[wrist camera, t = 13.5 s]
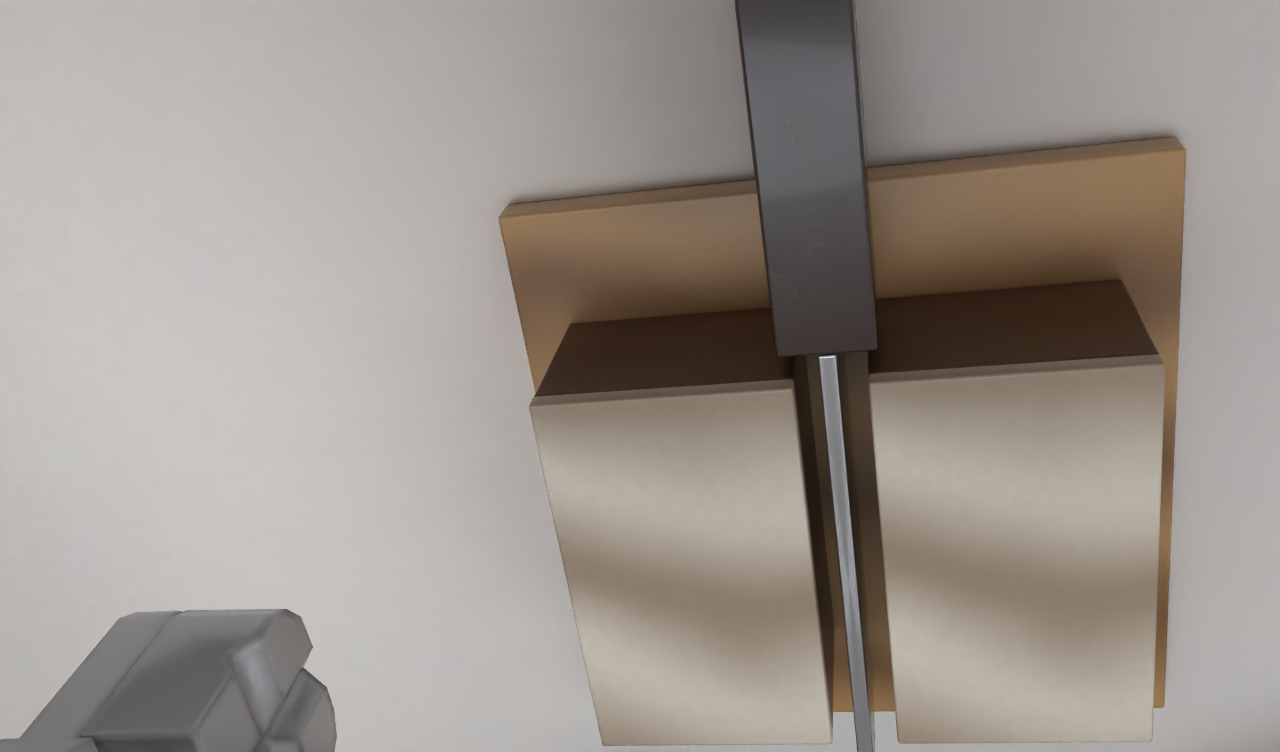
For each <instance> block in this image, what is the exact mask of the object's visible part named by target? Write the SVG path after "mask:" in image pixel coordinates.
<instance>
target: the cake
mask: <svg viewBox="0 0 1280 752" xmlns="http://www.w3.org/2000/svg"><path fill="white" fill-rule="evenodd" d="M1185 167H1186V149H1185V148H1184V146H1183V145H1182V144H1181V143H1180V142H1179V140H1178V139H1177V138H1175V137H1168V138H1158V139H1149V140H1139V141H1129V142H1119V143H1109V144H1100V145H1090V146H1080V147H1070V148H1060V149H1051V150H1041V151H1031V152H1021V153H1011V154H1002V155H992V156H982V157H972V158H962V159H953V160H943V161H933V162H923V163H914V164H904V165H894V166H884V167H874V168H868V179H869V192H870V205H871V219H872V232H873V245H874V258H875V272H876V290H877V314H878V337H879V348H878V350H876V351H863V352H849V353H845V363H846V374H847V385H848V396H849V407H850V418H851V430H852V441H853V452H854V463H855V474H856V486H857V497H858V508H859V519H860V530H861V541H862V553H863V564H864V575H865V586H866V597H867V608H868V620H869V631H870V642H871V653H872V664H873V686H874V711H895V712H896V724H897V736H898V742H899V743H1025V742H1150V741H1152V736H1153V708H1162V707H1164V701H1165V675H1166V650H1167V624H1168V599H1169V574H1170V548H1171V523H1172V497H1173V472H1174V447H1175V421H1176V396H1177V370H1178V345H1179V319H1180V294H1181V269H1182V243H1183V218H1184V192H1185ZM499 224H500V228H501V233H502V238H503V242H504V247H505V252H506V256H507V261H508V266H509V270H510V275H511V280H512V285H513V289H514V294H515V299H516V303H517V308H518V313H519V317H520V322H521V327H522V331H523V336H524V341H525V345H526V350H527V355H528V359H529V364H530V369H531V373H532V378H533V383H534V387H535V392H536V393H535V396H534V398H533V399H532V402H531V404H530V406H529V409H530V414H531V418H532V423H533V427H534V432H535V436H536V441H537V446H538V450H539V455H540V459H541V464H542V469H543V473H544V478H545V482H546V487H547V492H548V496H549V501H550V505H551V510H552V515H553V519H554V524H555V528H556V533H557V538H558V542H559V547H560V551H561V556H562V560H563V565H564V570H565V574H566V579H567V583H568V588H569V593H570V597H571V602H572V606H573V611H574V616H575V620H576V625H577V629H578V634H579V639H580V643H581V648H582V652H583V657H584V662H585V666H586V671H587V675H588V680H589V684H590V689H591V694H592V698H593V703H594V707H595V712H596V717H597V721H598V726H599V730H600V735H601V740H602V744H603V745H604V746H623V745H762V744H831V743H832V734H833V730H832V728H833V712H853V703H852V693H851V683H850V673H849V663H848V653H847V643H846V633H845V623H844V613H843V603H842V593H841V583H840V573H839V563H838V553H837V543H836V533H835V523H834V513H833V503H832V493H831V483H830V473H829V463H828V453H827V443H826V433H825V423H824V413H823V403H822V393H821V383H820V373H819V363H818V355H807V356H793V357H777V356H776V353H775V345H774V336H773V327H772V319H771V310H770V302H769V293H768V284H767V276H766V267H765V259H764V250H763V242H762V233H761V224H760V216H759V207H758V199H757V190H756V181H755V180H747V181H737V182H727V183H718V184H708V185H698V186H688V187H678V188H669V189H659V190H649V191H639V192H629V193H620V194H610V195H600V196H590V197H580V198H571V199H561V200H551V201H541V202H532V203H522V204H512V205H508V206H507V207H506V208H505V210H504V211H503V212H502V214H501V215H500V216H499Z"/></svg>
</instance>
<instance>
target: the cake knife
mask: <svg viewBox="0 0 1280 752" xmlns="http://www.w3.org/2000/svg"><path fill="white" fill-rule="evenodd" d="M734 1H735V10H736V18H737V27H738V35H739V44H740V53H741V61H742V70H743V78H744V87H745V95H746V104H747V113H748V121H749V130H750V138H751V147H752V156H753V164H754V173H755V181H756V190H757V199H758V207H759V216H760V224H761V233H762V242H763V250H764V259H765V267H766V276H767V284H768V293H769V302H770V310H771V319H772V327H773V336H774V345H775V353H776V356H777V357H793V356H807V355H818V363H819V373H820V383H821V393H822V403H823V413H824V423H825V433H826V443H827V453H828V463H829V473H830V483H831V493H832V503H833V513H834V523H835V533H836V543H837V553H838V563H839V573H840V583H841V593H842V603H843V613H844V623H845V633H846V643H847V653H848V663H849V673H850V683H851V693H852V703H853V713H854V723H855V733H856V743H857V752H875V732H874V686H873V664H872V653H871V642H870V631H869V620H868V608H867V597H866V586H865V575H864V564H863V553H862V541H861V530H860V519H859V508H858V497H857V486H856V474H855V463H854V452H853V441H852V430H851V418H850V407H849V396H848V385H847V374H846V363H845V353H849V352H863V351H876V350H878V348H879V337H878V314H877V290H876V272H875V258H874V245H873V232H872V219H871V205H870V192H869V179H868V165H867V152H866V139H865V125H864V112H863V99H862V85H861V72H860V59H859V45H858V32H857V19H856V6H855V0H734Z"/></svg>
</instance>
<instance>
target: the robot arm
mask: <svg viewBox="0 0 1280 752" xmlns="http://www.w3.org/2000/svg"><path fill="white" fill-rule="evenodd" d="M312 648H313V646H312V644H311V641H310V639H309V636H308V634H307V631H306V629H305V626H304V623H303V621H302V618H301V617H300V616H299V615H297V614H295V613H293V612H291V611H289V610H287V609H255V610H186V611H184V612H181V611H155V612H135V613H133V614H130V615H127V616H124V617H122V618H119V619H118V621H117V622H116V623H115V624H114V625H113V626H112V628H111V629H110V630H109V631H108V632H107V634H106V635H105V636H104V637H103V638H102V640H101V641H100V642H99V643H98V644H97V646H96V647H95V648H94V649H93V650H92V652H91V653H90V654H89V655H88V656H87V658H86V659H85V660H84V661H83V662H82V664H81V665H80V666H79V667H78V668H77V670H76V671H75V672H74V673H73V674H72V676H71V677H70V678H69V679H68V680H67V682H66V683H65V684H64V685H63V686H62V688H61V689H60V690H59V691H58V692H57V694H56V695H55V696H54V697H53V698H52V700H51V701H50V702H49V703H48V704H47V706H46V707H45V708H44V709H43V710H42V712H41V713H40V714H39V715H38V716H37V718H36V719H35V720H34V721H33V722H32V724H31V725H30V726H29V727H28V728H27V730H26V731H25V732H24V733H23V734H22V736H21V737H20V738H19V739H2V740H0V752H334V751H335V744H336V738H337V734H336V724H335V714H334V708H333V705H332V702H331V699H330V696H329V693H328V690H327V687H325V686H324V685H323V684H322V683H321V682H320V681H318V680H317V679H316V678H315V677H314V676H313V675H311V674H310V673H309V672H308V671H307V670H306V669H304V668H303V667H304V665H305V663H306V661H307V659H308V657H309V654H310V652H311V650H312Z"/></svg>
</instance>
